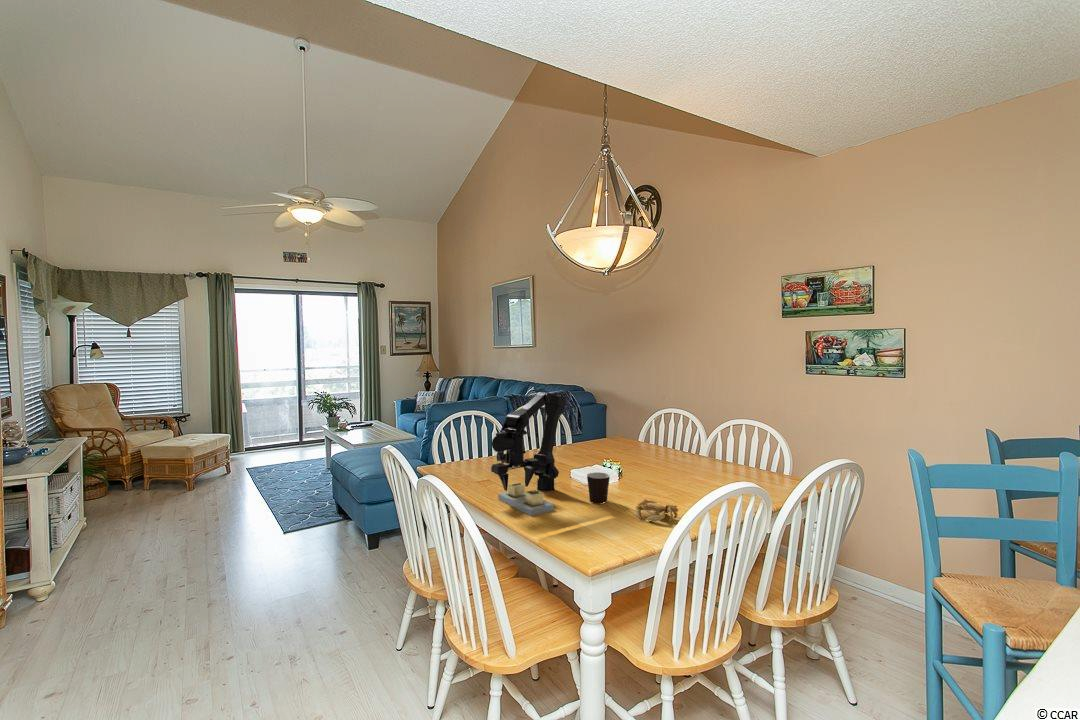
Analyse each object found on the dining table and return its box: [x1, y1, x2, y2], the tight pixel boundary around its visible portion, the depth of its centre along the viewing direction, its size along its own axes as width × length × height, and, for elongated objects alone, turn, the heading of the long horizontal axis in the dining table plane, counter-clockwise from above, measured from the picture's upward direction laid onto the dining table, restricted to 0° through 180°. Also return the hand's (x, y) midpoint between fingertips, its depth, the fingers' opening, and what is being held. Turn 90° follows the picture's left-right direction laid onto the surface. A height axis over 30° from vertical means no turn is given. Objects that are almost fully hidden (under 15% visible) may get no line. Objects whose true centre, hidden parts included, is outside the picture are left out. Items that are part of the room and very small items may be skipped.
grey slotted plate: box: [497, 491, 555, 517], centre depth 185 cm, size 22×10×3 cm, turn 35°
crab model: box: [635, 499, 679, 522], centre depth 174 cm, size 16×13×6 cm
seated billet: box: [525, 489, 544, 507], centre depth 180 cm, size 4×4×6 cm
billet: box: [507, 481, 526, 498], centre depth 190 cm, size 4×4×6 cm
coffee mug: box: [586, 471, 611, 504], centre depth 190 cm, size 12×9×10 cm
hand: (516, 488), depth 190 cm, fingers open, 9 cm apart
